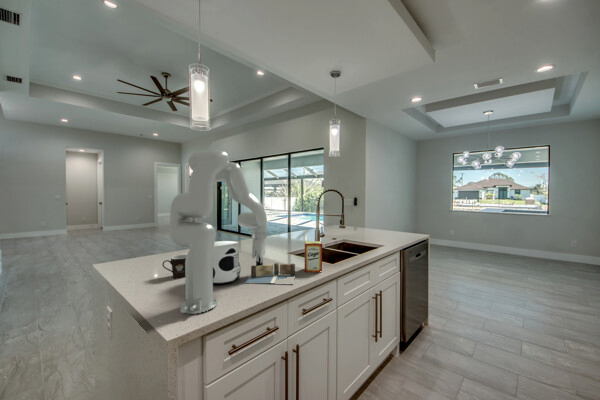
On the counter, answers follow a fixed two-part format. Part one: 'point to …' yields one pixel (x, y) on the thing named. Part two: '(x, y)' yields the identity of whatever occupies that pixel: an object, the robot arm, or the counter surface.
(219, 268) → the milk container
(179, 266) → the coffee mug
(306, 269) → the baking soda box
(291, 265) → the fence fixed
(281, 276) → the card
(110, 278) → the counter surface
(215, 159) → the robot arm
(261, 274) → the fence panel
